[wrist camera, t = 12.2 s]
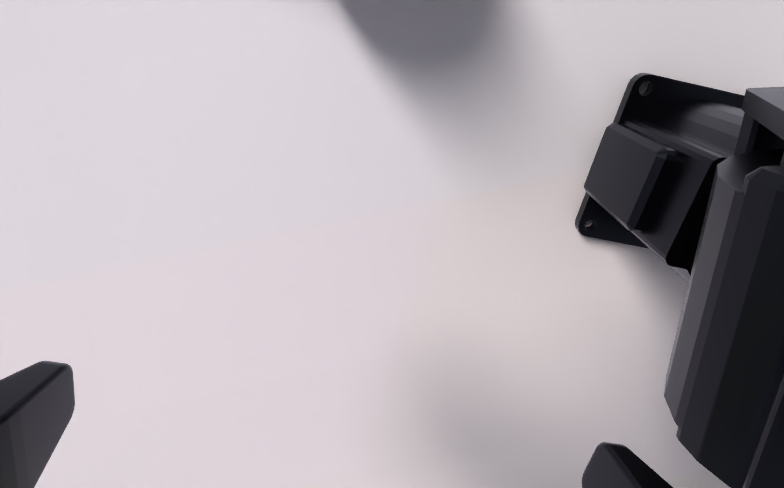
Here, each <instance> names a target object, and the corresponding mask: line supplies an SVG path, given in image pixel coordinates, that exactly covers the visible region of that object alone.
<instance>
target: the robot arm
mask: <svg viewBox="0 0 784 488" xmlns="http://www.w3.org/2000/svg"><path fill="white" fill-rule="evenodd" d="M643 82H647V84H648V86H647V89H646V91H645V92H644V93H642V94H640V93H639V86H640V85H641V84H642V83H643ZM584 188H585V190H586V194H585V196H584V199H583V202H582V204H581V207H580V209H579V212H578V214H577V217H576V220H575V226H576V228H577V230H578V231H579V232H580V233H581V234H582V235H584V236H587V237H592V238H598V239H603V240H608V241H613V242H619V243H624V244H629V245H634V246H640V247H645V248H650V249H651V250H652V251H653V252H654V253H655V254H656V255H657V256H659V257H660V258H661V259H662V260H663V261H664V262H665V263H666V264H668V265H669V266H670V267H671V268H672V269H673V270H674V271H675V272H676V273H678V274H679V275H680V276H681V277H682V278H683V279H684V280H685V281H686V282H688V283H689V284H688V288H687V292H686V296H685V300H684V304H683V309H682V313H681V317H680V321H679V325H678V329H677V334H676V338H675V342H674V346H673V350H672V354H671V358H670V363H669V367H668V371H667V375H666V384H665V393H664V397H665V399H666V401H667V404H668V406H669V409H670V411H671V414H672V416H673V419H674V421H675V422H676V424H677V425H678V430H677V435H676V436H677V438H678V440H679V441H680V442H681V443H682V444H683V446H684V447H685V448H686V449H687V450H688V451H689V452H690V453H691V454H692V456H693V457H694V458H695V459H696V460H697V461H698V462H699V463H700V464H702V465H703V466H704V467H705V468H707V469H708V470H709V471H710V472H712V473H713V474H714V475H715V476H717V477H718V478H719V479H720V480H722V481H723V482H724V483H725V484H726V485H728V486H729V487H731V488H784V87H769V88H749V89H746V93H745V96H743V95H739V94H735V93H730V92H726V91H722V90H717V89H713V88H708V87H704V86H700V85H695V84H691V83H687V82H682V81H678V80H673V79H669V78H665V77H660V76H656V75H652V74H647V73H640V74H638V75H635V76H634V77H633V78H632V79H631V80H630V82H629V83H628V86H627V88H626V91H625V93H624V96H623V98H622V101H621V104H620V106H619V109H618V111H617V114H616V117H615V119H614V122H613V123H612V124H611V125H609V126H608V127H607V128H606V130H605V132H604V135H603V138H602V140H601V143H600V145H599V148H598V151H597V153H596V156H595V158H594V161H593V164H592V166H591V169H590V171H589V174H588V177H587V179H586V182H585V184H584ZM588 220H593V223H592V224H591V226H589V227H584V224H585V223H586V221H588ZM74 406H75V397H74V382H73V371H72V368H71V366H70V365H68V364H65V363H58V362H51V361H41V362H38V363H36V364H34V365H31V366H29V367H27V368H25V369H23V370H21V371H19V372H16V373H14V374H12V375H10V376H8V377H6V378H4V379H2V380H0V488H34V487H35V485H36V483H37V481H38V479H39V478H40V476H41V474H42V472H43V470H44V468H45V466H46V464H47V462H48V461H49V459H50V457H51V455H52V453H53V451H54V449H55V447H56V446H57V444H58V442H59V440H60V438H61V436H62V434H63V432H64V430H65V429H66V427H67V425H68V423H69V421H70V419H71V417H72V414H73V411H74ZM582 488H673V487H672V486H671V485H669V484H668V483H667V482H666V481H665V480H664V479H663V478H661V477H660V476H659V475H658V474H657V473H656V472H655V471H653V470H652V469H651V468H650V467H649V466H648V465H647V464H645V463H644V462H643V461H642V460H641V459H640V458H639V457H637V456H636V455H635V454H634V453H633V452H632V451H631V450H629V449H628V448H627V447H626V446H624V445H620V444H614V443H607V442H603V443H600V444H599V445H598V446H597V448H596V449H595V451H594V453H593V455H592V457H591V459H590V461H589V463H588V465H587V467H586V469H585V471H584V473H583V477H582Z"/></svg>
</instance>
